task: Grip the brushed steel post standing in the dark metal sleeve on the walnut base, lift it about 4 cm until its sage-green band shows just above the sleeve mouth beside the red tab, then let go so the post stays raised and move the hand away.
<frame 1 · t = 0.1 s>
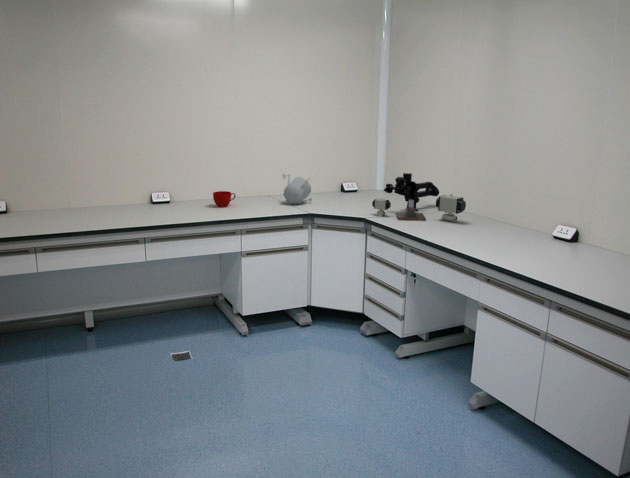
hand: (389, 190, 366), 17 cm above the worktop, tool horizontal, fingers open, 9 cm apart
steel post: (410, 207, 361), point 7 cm above the worktop, slide at 0.0 cm
ball valve: (449, 221, 354), on the worktop
ceramic cup: (225, 206, 394), on the worktop
pneumatic valve: (381, 215, 369), on the worktop
post stand: (410, 217, 363), on the worktop
satellite: (297, 203, 407), on the worktop
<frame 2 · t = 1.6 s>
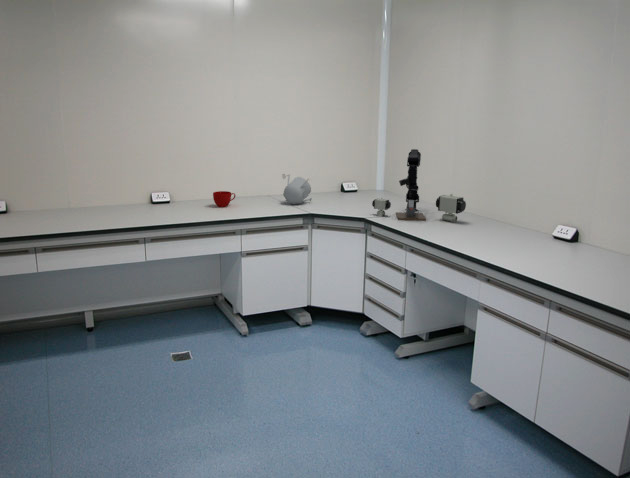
hand: (411, 198, 360), 13 cm above the worktop, tool pointing down, fingers open, 9 cm apart
nothing on the worktop moved.
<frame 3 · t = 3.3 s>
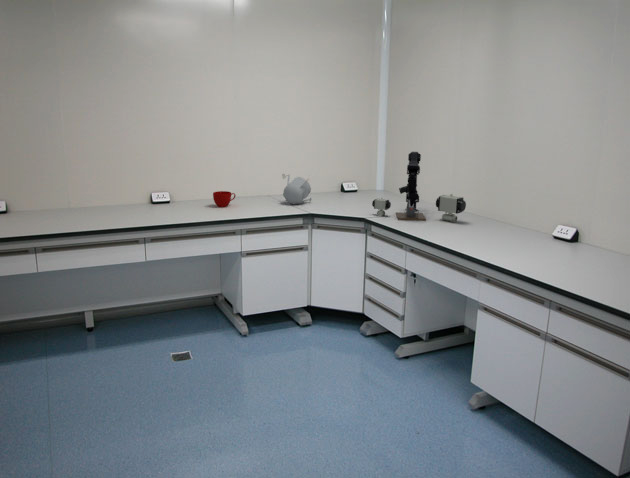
hand: (411, 205, 361), 8 cm above the worktop, tool pointing down, fingers closed on steel post, 3 cm apart
steel post: (410, 207, 361), point 7 cm above the worktop, slide at 0.0 cm, touching gripper
everything else where it was.
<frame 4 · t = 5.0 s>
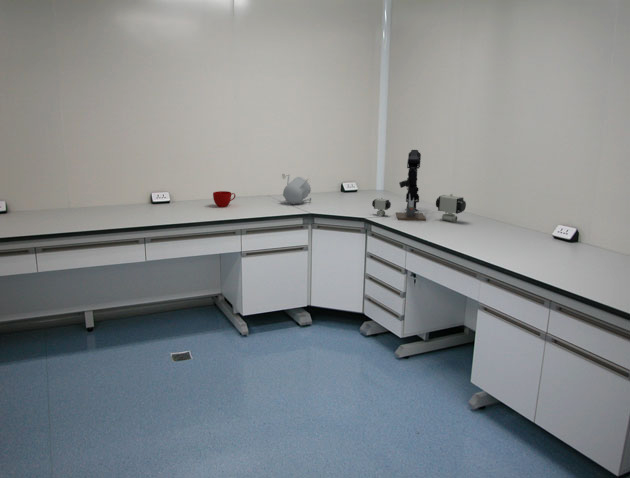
hand: (411, 200, 360), 12 cm above the worktop, tool pointing down, fingers closed on steel post, 3 cm apart
steel post: (411, 201, 360), point 11 cm above the worktop, slide at 3.9 cm, touching gripper
everything else where it was.
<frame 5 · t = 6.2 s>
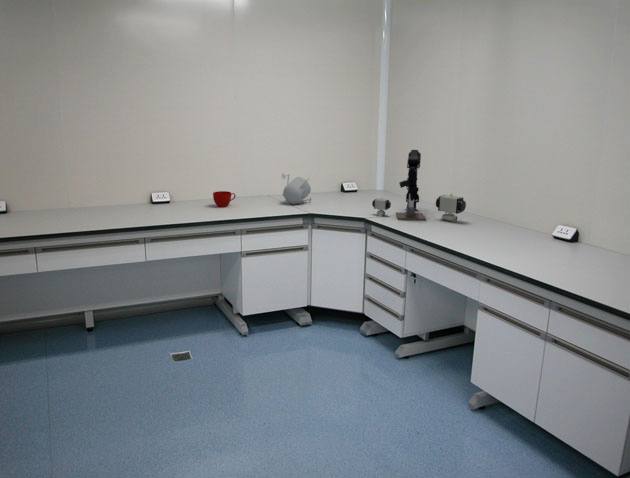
hand: (411, 199, 360), 12 cm above the worktop, tool pointing down, fingers open, 6 cm apart
steel post: (411, 201, 360), point 11 cm above the worktop, slide at 4.0 cm
everything else where it was.
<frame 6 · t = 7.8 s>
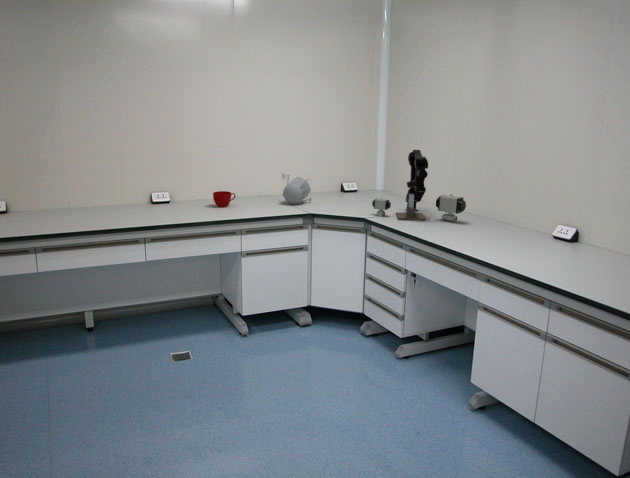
hand: (418, 200, 360), 12 cm above the worktop, tool pointing down, fingers open, 9 cm apart
nothing on the worktop moved.
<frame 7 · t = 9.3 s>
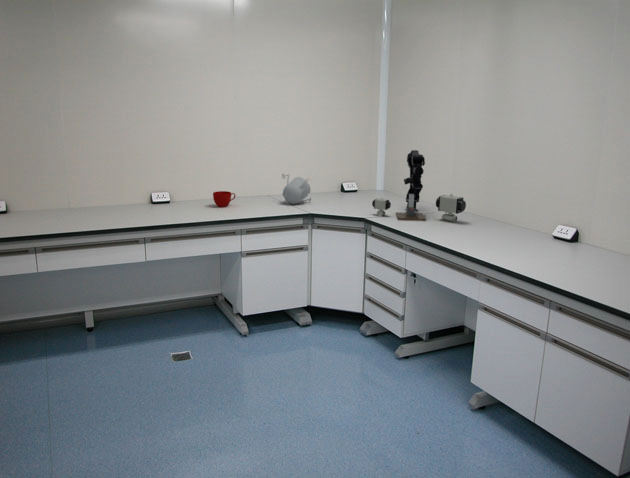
hand: (415, 196, 367), 13 cm above the worktop, tool pointing down, fingers open, 9 cm apart
nothing on the worktop moved.
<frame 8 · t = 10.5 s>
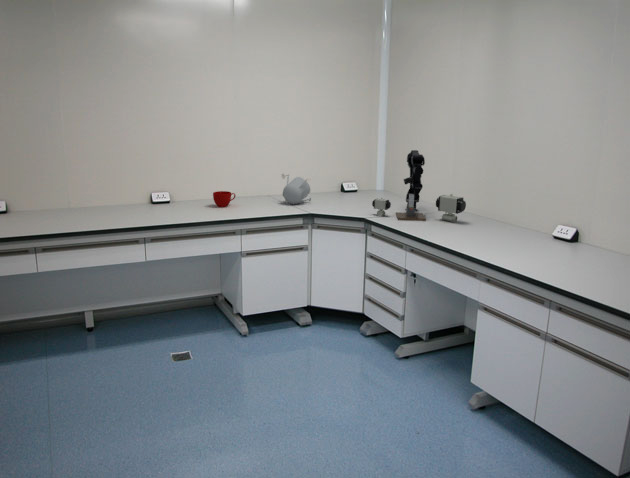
hand: (415, 196, 367), 13 cm above the worktop, tool pointing down, fingers open, 9 cm apart
nothing on the worktop moved.
at the end: steel post slide at 4.0 cm; the gripper is holding nothing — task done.
